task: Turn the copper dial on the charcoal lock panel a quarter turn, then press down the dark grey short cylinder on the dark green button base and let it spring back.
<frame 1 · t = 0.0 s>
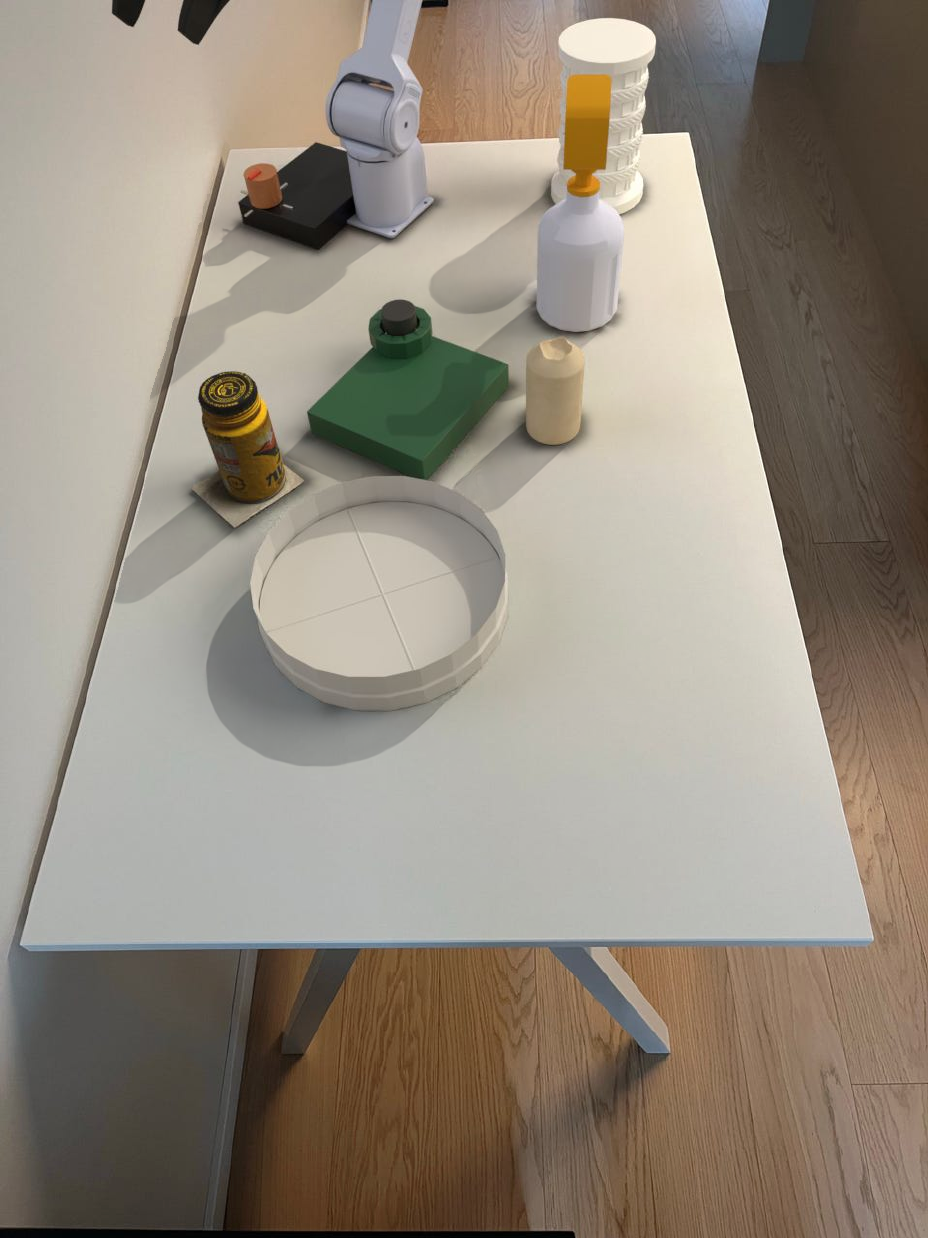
hand: (154, 28, 81), 32 cm above the table, tool tilted 50°, fingers open, 7 cm apart
soap bottle: (576, 309, 108), on the table
candle: (552, 427, 97), on the table
button base: (411, 409, 99), on the table
decorative container: (596, 193, 121), on the table
dark grey short cylinder: (399, 318, 99), point 6 cm above the table, slide at 0.1 cm
dial: (263, 184, 116), point 5 cm above the table, hinge at 0.0°
lock panel: (319, 204, 122), on the table
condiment: (248, 487, 94), on the table
dish: (385, 604, 85), on the table
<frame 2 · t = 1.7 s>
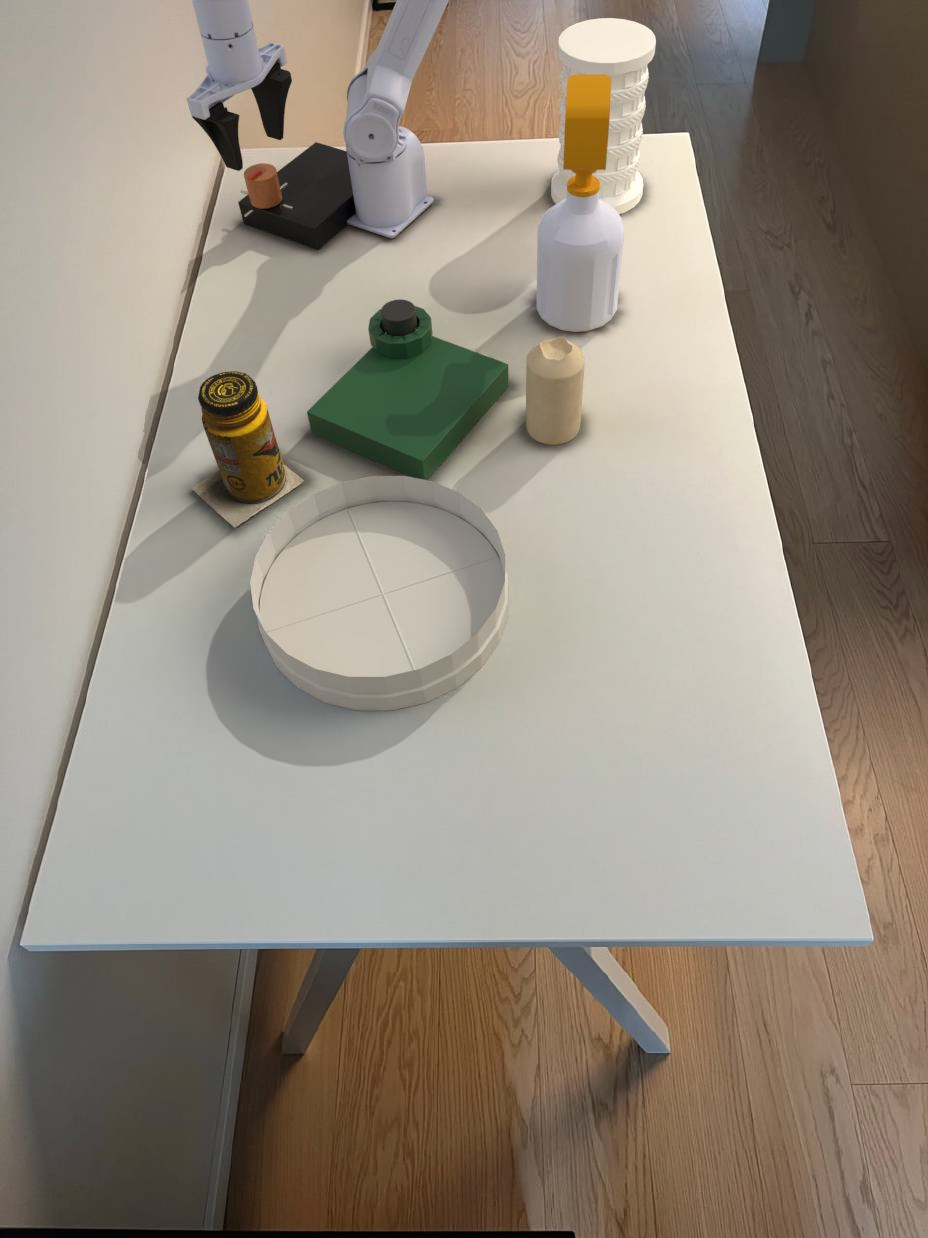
hand: (255, 152, 113), 9 cm above the table, tool pointing down, fingers open, 7 cm apart
nothing on the table moved.
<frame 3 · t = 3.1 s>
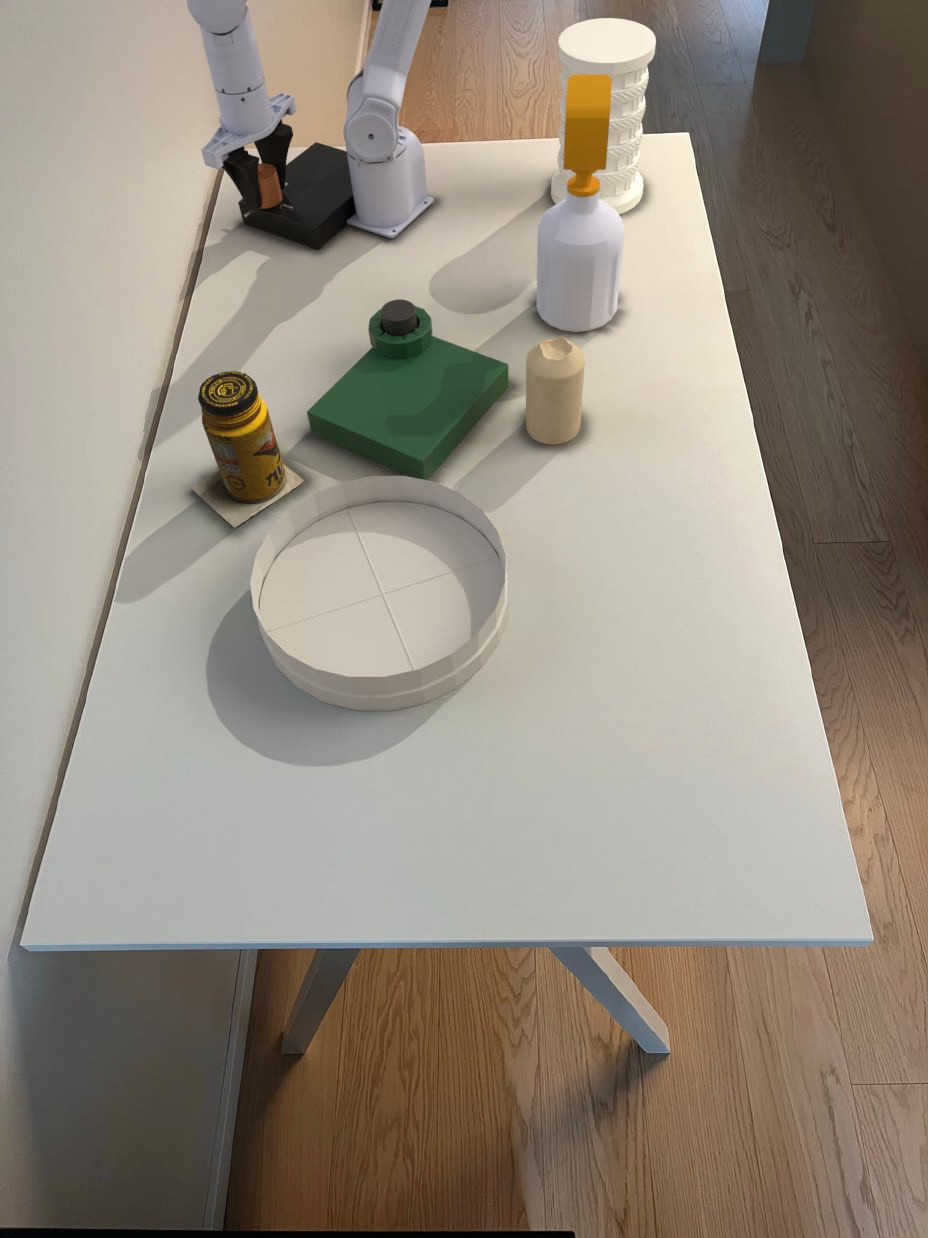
hand: (265, 196, 118), 4 cm above the table, tool pointing down, fingers closed on dial, 4 cm apart
dial: (263, 184, 116), point 5 cm above the table, hinge at -0.1°, touching gripper
everything else where it was.
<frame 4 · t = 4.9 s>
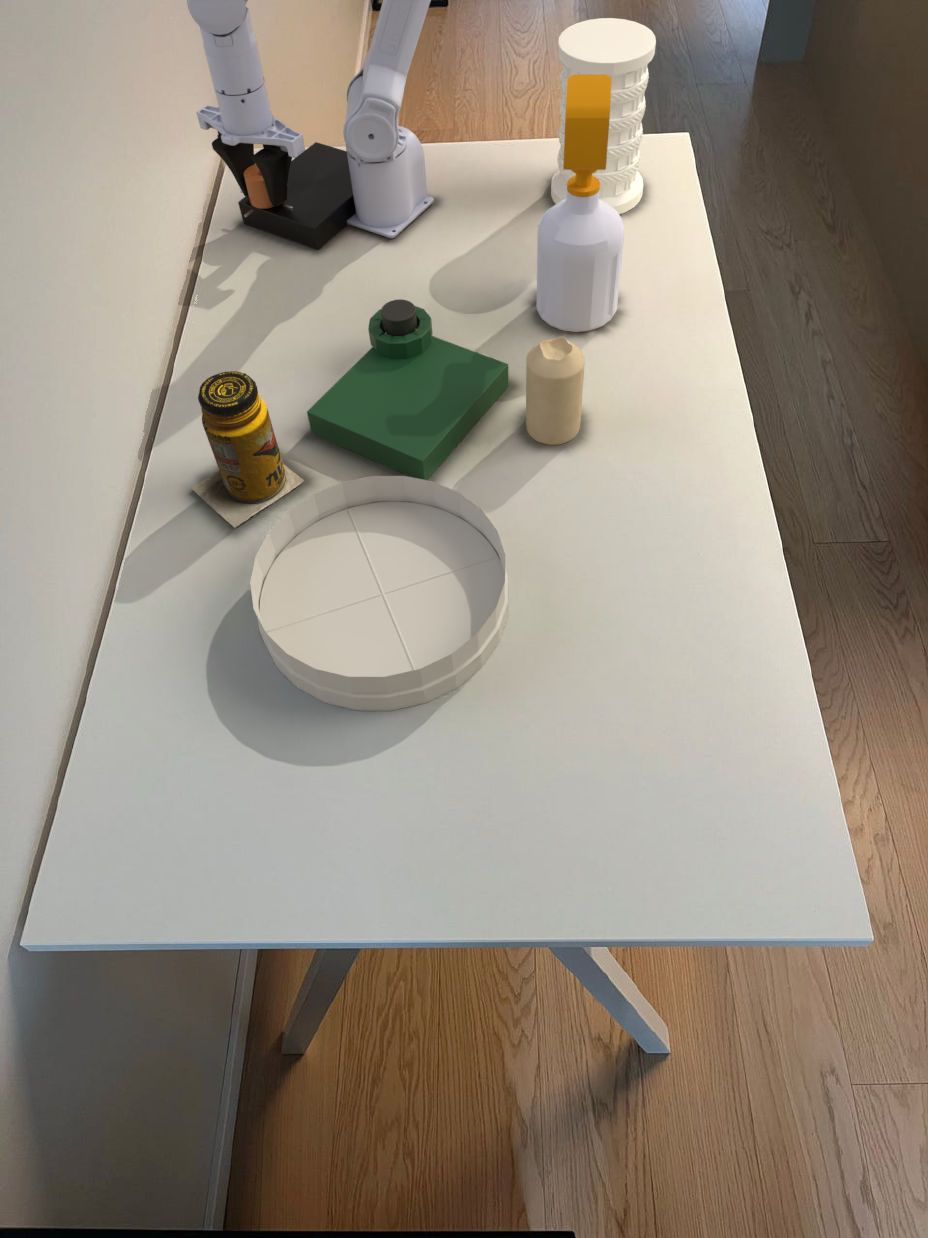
hand: (265, 197, 118), 3 cm above the table, tool pointing down, fingers closed on dial, 4 cm apart
dial: (263, 184, 116), point 5 cm above the table, hinge at 89.5°, touching gripper
everything else where it was.
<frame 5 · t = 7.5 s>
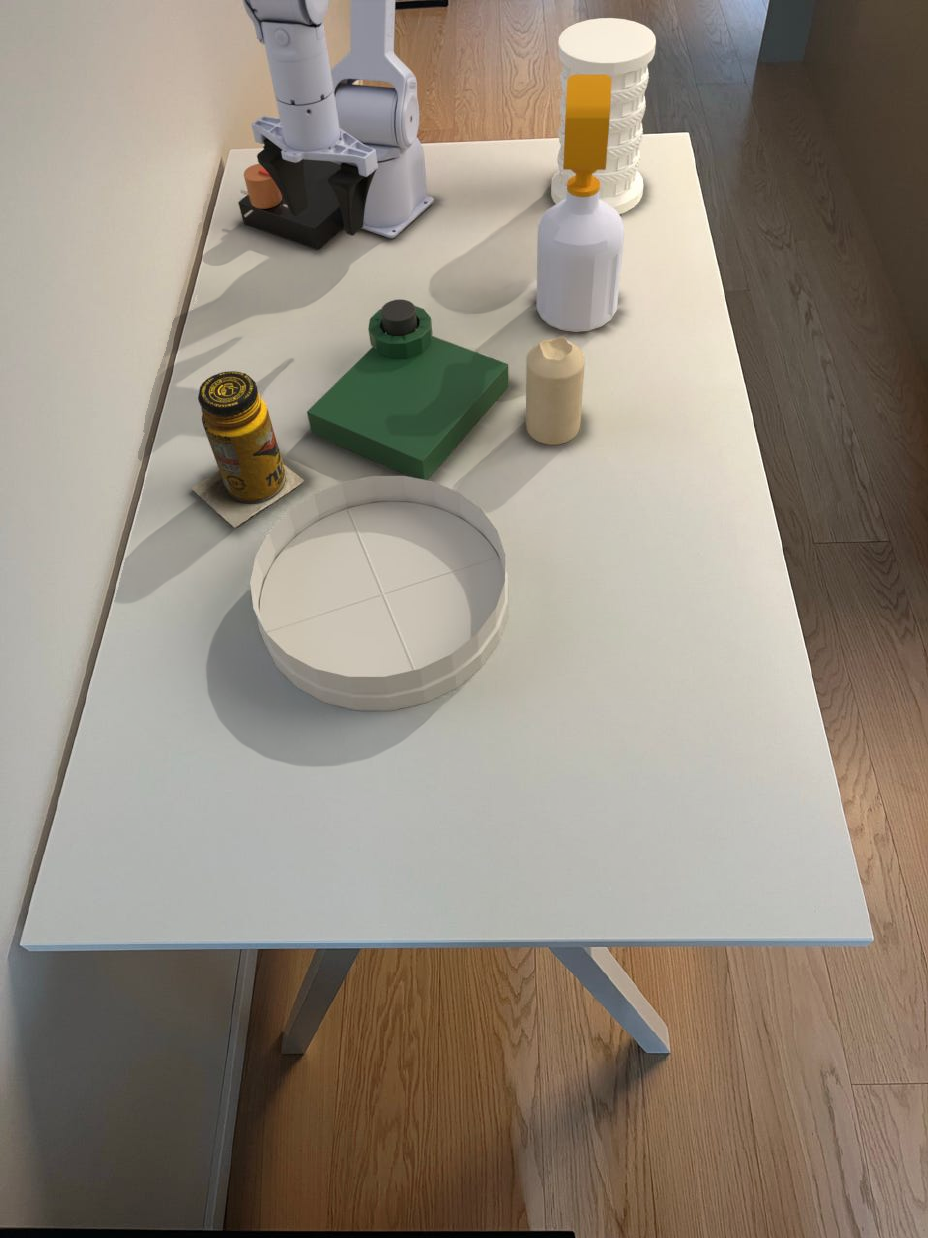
hand: (327, 220, 103), 10 cm above the table, tool pointing down, fingers open, 7 cm apart
dial: (263, 184, 116), point 5 cm above the table, hinge at 89.9°
everything else where it was.
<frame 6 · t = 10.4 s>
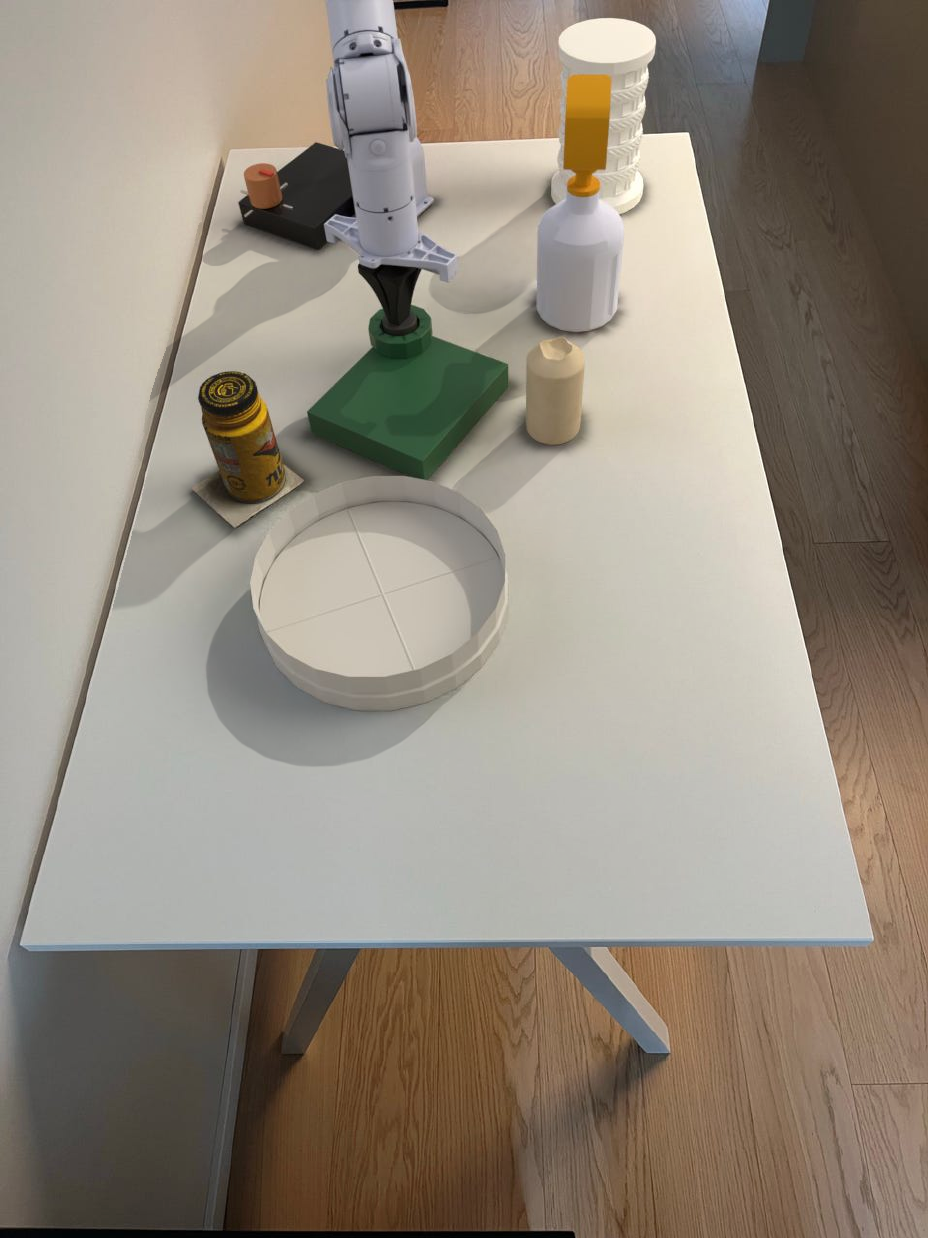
hand: (399, 318, 99), 6 cm above the table, tool pointing down, fingers closed, pressing on dark grey short cylinder
dark grey short cylinder: (400, 326, 100), point 5 cm above the table, slide at -1.0 cm, touching gripper
everything else where it was.
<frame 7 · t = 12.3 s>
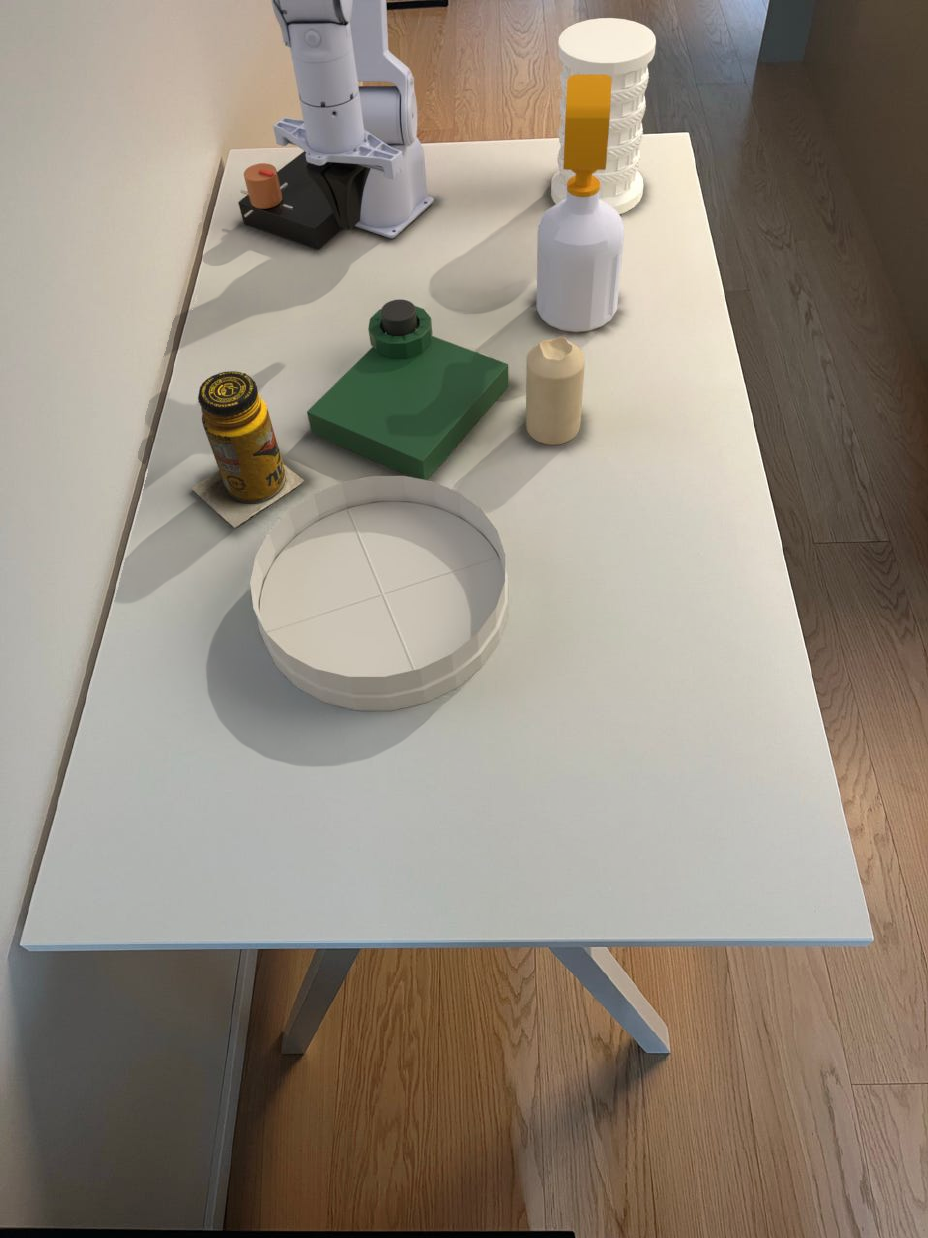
hand: (349, 223, 101), 10 cm above the table, tool pointing down, fingers closed
dark grey short cylinder: (399, 318, 99), point 6 cm above the table, slide at 0.1 cm
everything else where it was.
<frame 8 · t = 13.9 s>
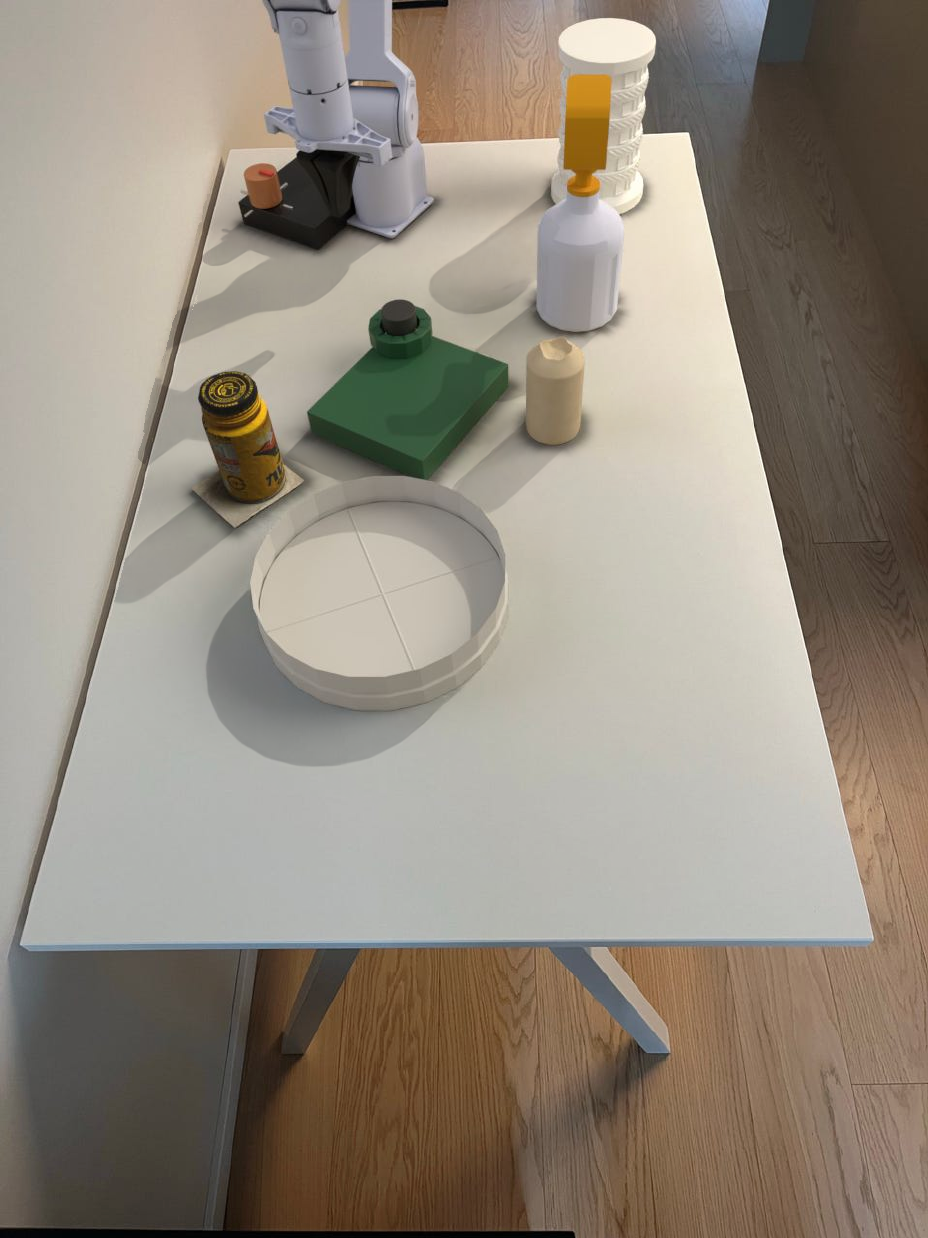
hand: (339, 211, 102), 10 cm above the table, tool pointing down, fingers closed
nothing on the table moved.
at the end: dial at +90° (first picture: +0°); dark grey short cylinder pushed in 1.4 cm at the most during the clip, back to where it started at the end; dark grey short cylinder slide at 0.1 cm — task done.
